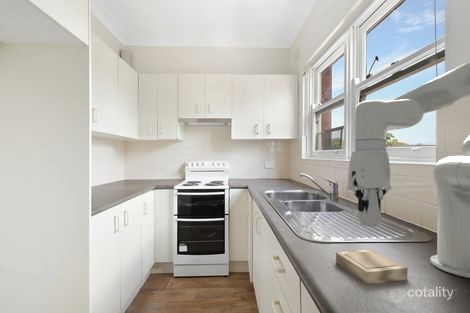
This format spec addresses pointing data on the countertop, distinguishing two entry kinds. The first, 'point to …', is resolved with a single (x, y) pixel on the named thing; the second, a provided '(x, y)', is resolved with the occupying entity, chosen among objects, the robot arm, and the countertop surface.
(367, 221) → the salt shaker
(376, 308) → the countertop surface
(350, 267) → the base board
